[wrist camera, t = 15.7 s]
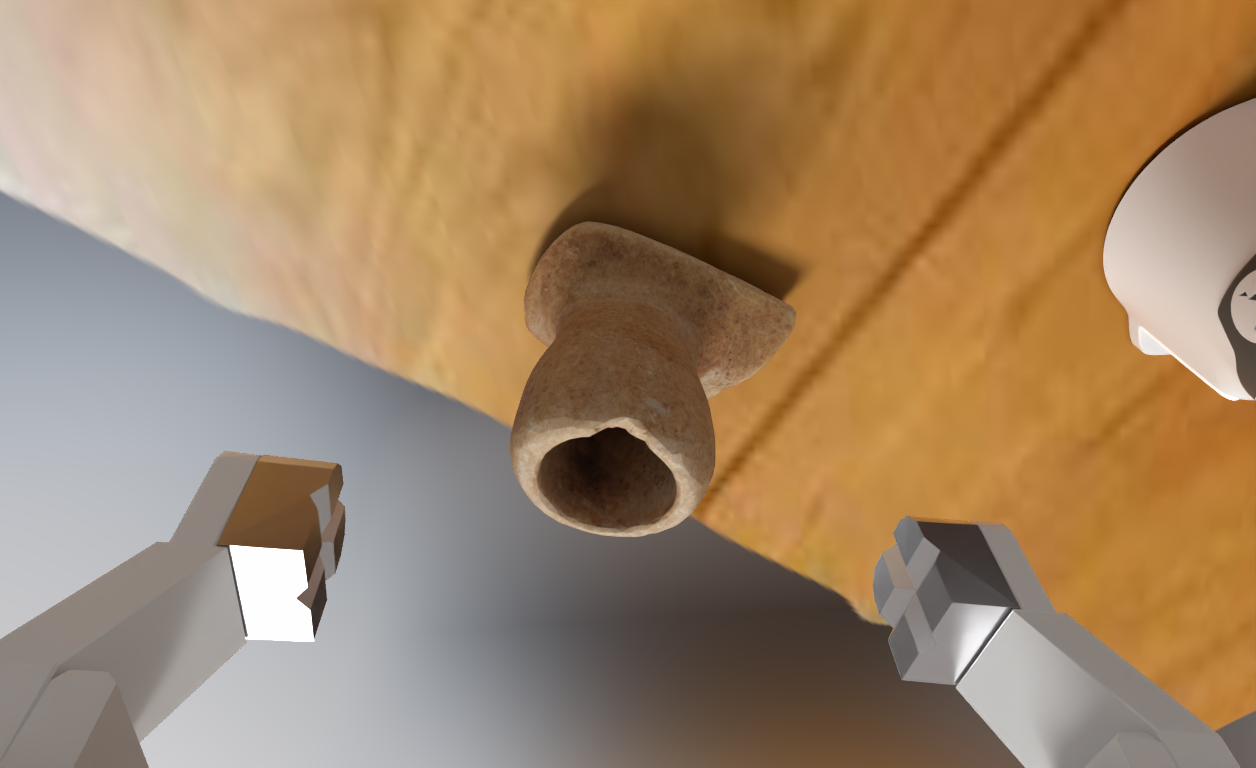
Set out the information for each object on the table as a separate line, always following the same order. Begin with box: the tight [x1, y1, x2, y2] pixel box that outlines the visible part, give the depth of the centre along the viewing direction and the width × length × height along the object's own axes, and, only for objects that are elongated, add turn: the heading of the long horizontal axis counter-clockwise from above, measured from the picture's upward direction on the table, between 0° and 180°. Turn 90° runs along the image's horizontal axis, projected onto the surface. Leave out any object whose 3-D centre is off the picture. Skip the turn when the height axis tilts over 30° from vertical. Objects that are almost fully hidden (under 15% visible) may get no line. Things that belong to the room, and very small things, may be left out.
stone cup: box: [510, 221, 796, 537], centre depth 44 cm, size 15×12×15 cm
